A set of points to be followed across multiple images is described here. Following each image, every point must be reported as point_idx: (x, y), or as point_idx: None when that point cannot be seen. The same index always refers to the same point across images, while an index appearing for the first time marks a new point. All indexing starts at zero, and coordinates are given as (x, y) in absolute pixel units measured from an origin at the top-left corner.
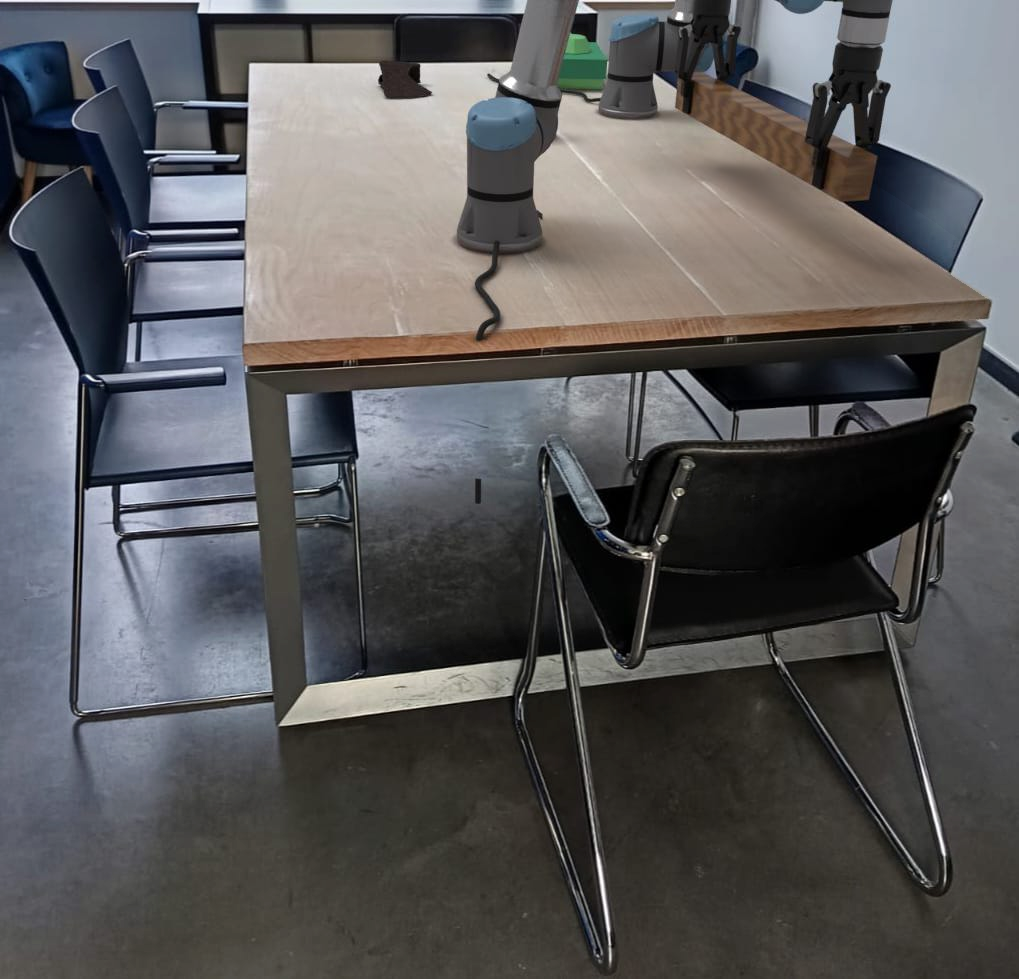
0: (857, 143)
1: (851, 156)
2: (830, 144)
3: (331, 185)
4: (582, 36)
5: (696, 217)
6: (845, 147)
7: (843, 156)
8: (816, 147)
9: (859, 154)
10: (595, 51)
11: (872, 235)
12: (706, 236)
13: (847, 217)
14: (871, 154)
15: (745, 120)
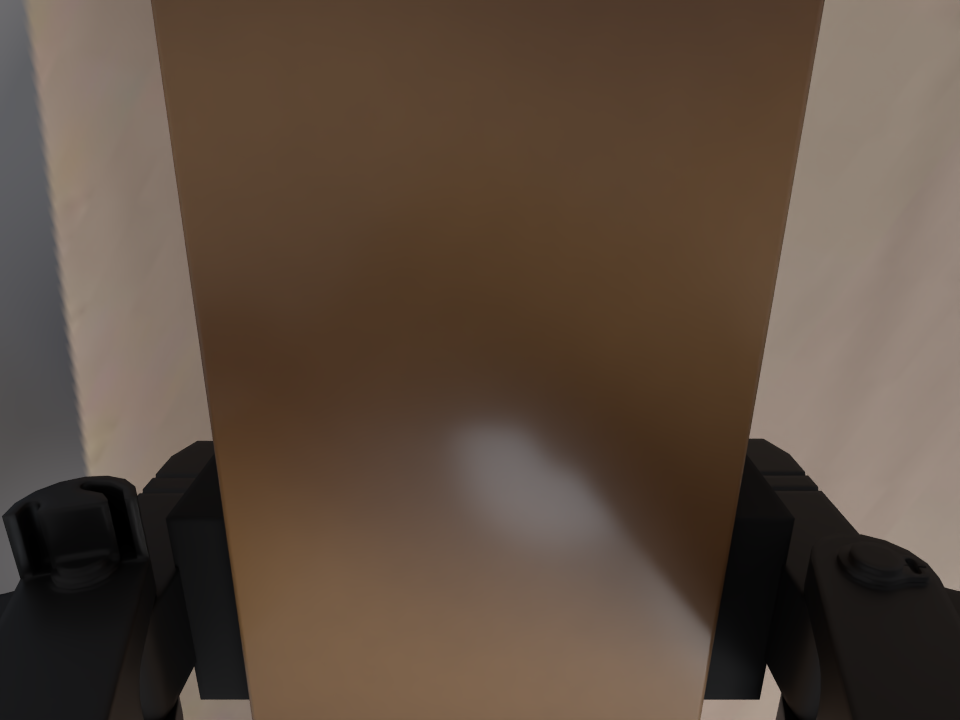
0: (177, 671)
1: (702, 38)
2: (580, 715)
3: None
4: None
5: (767, 715)
6: (453, 562)
7: (792, 142)
8: (957, 592)
9: (458, 141)
10: None
11: (135, 381)
12: (878, 529)
13: None
14: (219, 89)
15: None
